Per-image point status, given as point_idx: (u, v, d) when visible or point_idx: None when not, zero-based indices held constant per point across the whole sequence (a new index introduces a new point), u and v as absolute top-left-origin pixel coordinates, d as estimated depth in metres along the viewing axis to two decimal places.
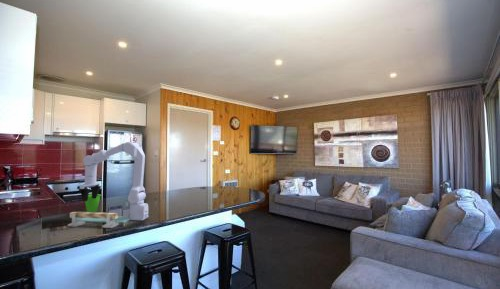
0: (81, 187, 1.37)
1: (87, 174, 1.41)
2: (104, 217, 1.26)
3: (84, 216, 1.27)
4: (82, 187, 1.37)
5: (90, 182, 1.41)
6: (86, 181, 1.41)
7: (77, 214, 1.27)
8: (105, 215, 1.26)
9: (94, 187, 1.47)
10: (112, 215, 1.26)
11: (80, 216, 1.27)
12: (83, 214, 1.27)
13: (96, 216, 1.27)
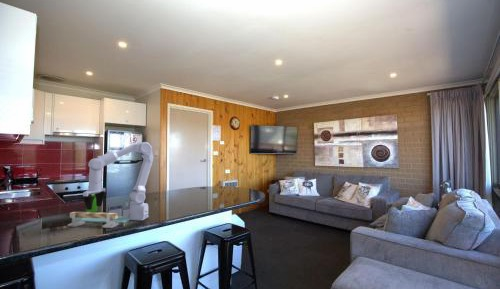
0: (85, 194, 1.21)
1: (96, 179, 1.26)
2: (104, 217, 1.26)
3: (84, 216, 1.27)
4: (86, 194, 1.21)
5: (95, 188, 1.26)
6: (90, 187, 1.26)
7: (77, 214, 1.27)
8: (105, 215, 1.26)
9: (99, 194, 1.32)
10: (112, 215, 1.26)
11: (80, 216, 1.27)
12: (83, 214, 1.27)
13: (96, 216, 1.27)
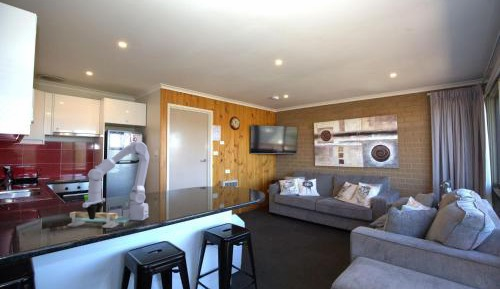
0: (84, 205, 1.21)
1: (96, 190, 1.26)
2: (104, 217, 1.26)
3: (84, 216, 1.27)
4: (85, 205, 1.21)
5: (94, 199, 1.26)
6: (90, 198, 1.25)
7: (77, 214, 1.27)
8: (105, 215, 1.26)
9: (96, 205, 1.29)
10: (112, 215, 1.26)
11: (80, 216, 1.27)
12: (83, 214, 1.27)
13: (96, 216, 1.27)
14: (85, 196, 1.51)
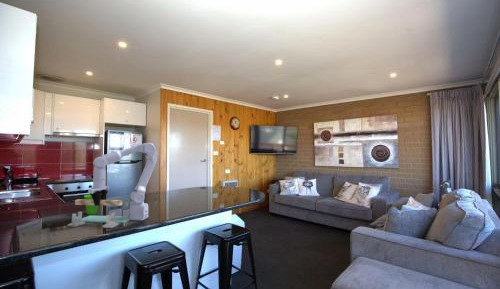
0: (90, 192, 1.24)
1: (100, 177, 1.29)
2: (109, 204, 1.30)
3: (89, 203, 1.30)
4: (91, 192, 1.24)
5: (99, 186, 1.29)
6: (95, 185, 1.29)
7: (82, 201, 1.30)
8: (110, 202, 1.30)
9: (100, 192, 1.33)
10: (117, 202, 1.30)
11: (85, 203, 1.30)
12: (88, 201, 1.30)
13: (101, 203, 1.30)
14: (85, 196, 1.51)
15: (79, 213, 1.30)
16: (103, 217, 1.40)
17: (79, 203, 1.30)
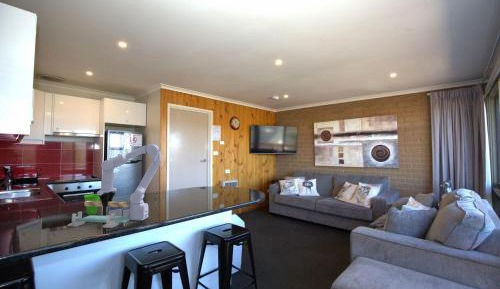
0: (98, 193, 1.31)
1: (106, 180, 1.36)
2: (116, 205, 1.37)
3: (98, 205, 1.37)
4: (99, 193, 1.31)
5: (107, 188, 1.36)
6: (103, 187, 1.36)
7: (91, 203, 1.38)
8: (117, 204, 1.37)
9: (108, 194, 1.40)
10: (124, 204, 1.37)
11: (94, 205, 1.38)
12: (97, 203, 1.37)
13: (109, 205, 1.37)
14: (85, 196, 1.51)
15: (79, 213, 1.30)
16: (103, 217, 1.40)
17: (88, 204, 1.38)
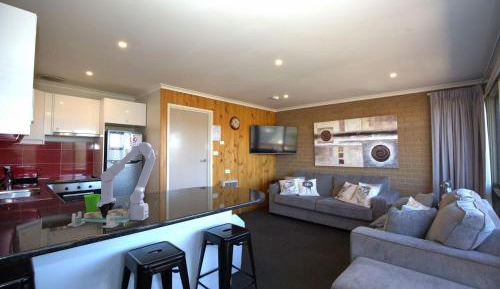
0: (98, 205, 1.31)
1: (105, 191, 1.36)
2: (116, 213, 1.37)
3: (97, 215, 1.37)
4: (99, 205, 1.31)
5: (107, 199, 1.36)
6: (103, 198, 1.36)
7: (90, 214, 1.37)
8: (116, 211, 1.37)
9: (108, 204, 1.40)
10: (123, 210, 1.37)
11: (94, 215, 1.37)
12: (96, 213, 1.37)
13: (108, 213, 1.37)
14: (85, 196, 1.51)
15: (79, 213, 1.30)
16: None
17: (88, 216, 1.38)
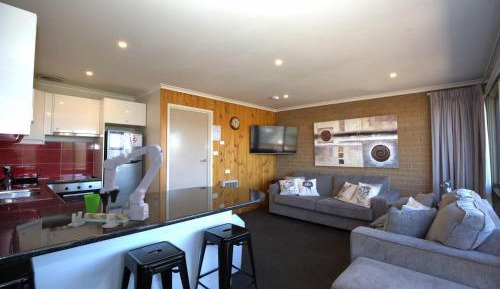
0: (101, 191, 1.33)
1: (108, 178, 1.38)
2: (115, 218, 1.36)
3: (97, 217, 1.37)
4: (102, 191, 1.33)
5: (110, 186, 1.38)
6: (106, 185, 1.38)
7: (91, 215, 1.37)
8: (116, 216, 1.36)
9: (113, 191, 1.44)
10: (123, 216, 1.36)
11: (93, 217, 1.37)
12: (96, 215, 1.37)
13: None
14: (85, 196, 1.51)
15: (79, 213, 1.30)
16: None
17: (88, 217, 1.37)
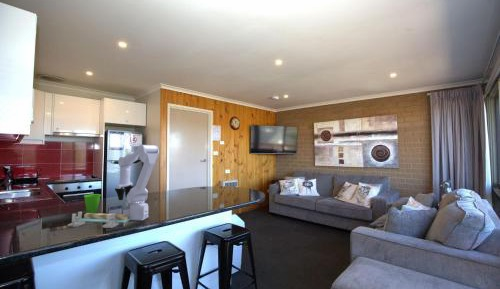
0: (118, 187, 1.44)
1: (120, 174, 1.49)
2: (115, 218, 1.36)
3: (97, 217, 1.37)
4: (118, 187, 1.44)
5: (125, 182, 1.49)
6: (121, 181, 1.48)
7: (91, 215, 1.37)
8: (116, 216, 1.36)
9: (127, 187, 1.55)
10: (123, 216, 1.36)
11: (93, 217, 1.37)
12: (96, 215, 1.37)
13: None
14: (85, 196, 1.51)
15: (79, 213, 1.30)
16: None
17: (88, 217, 1.37)
